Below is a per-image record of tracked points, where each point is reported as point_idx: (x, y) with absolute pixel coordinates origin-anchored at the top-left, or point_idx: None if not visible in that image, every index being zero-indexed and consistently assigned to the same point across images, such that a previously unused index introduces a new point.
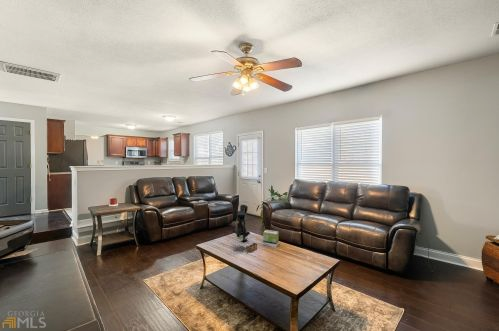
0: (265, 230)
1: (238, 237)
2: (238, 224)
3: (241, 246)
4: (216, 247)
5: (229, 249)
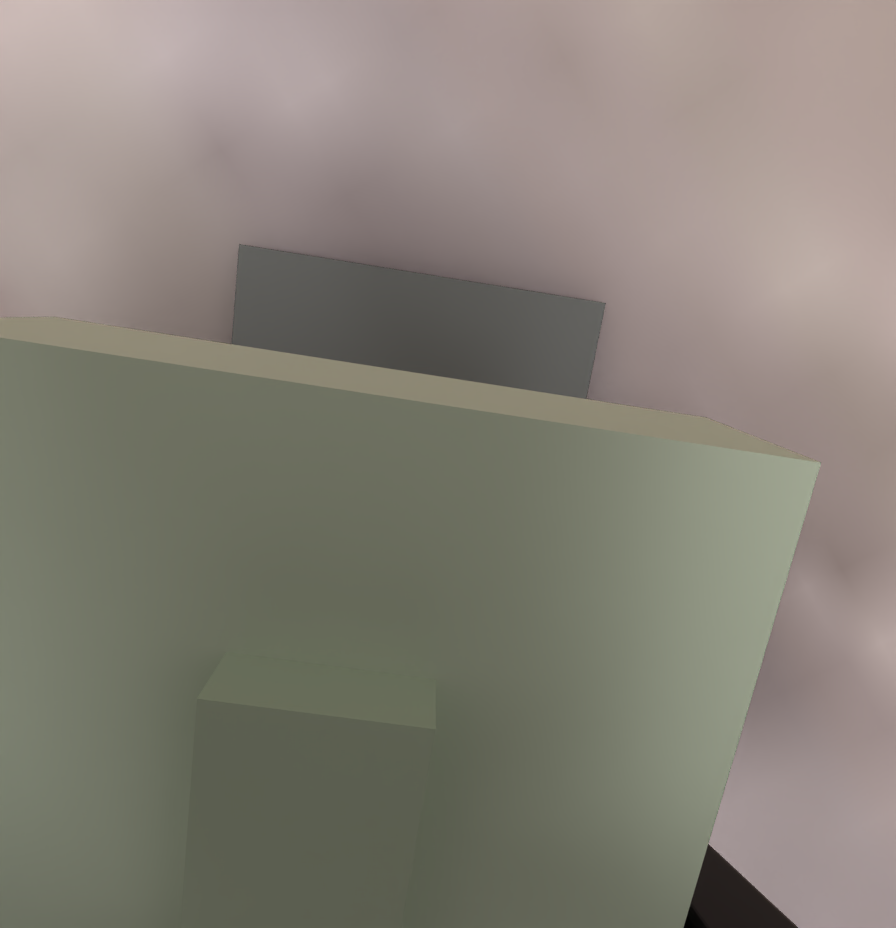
0: None
1: (542, 812)
2: None
3: None
4: None
5: (774, 265)
